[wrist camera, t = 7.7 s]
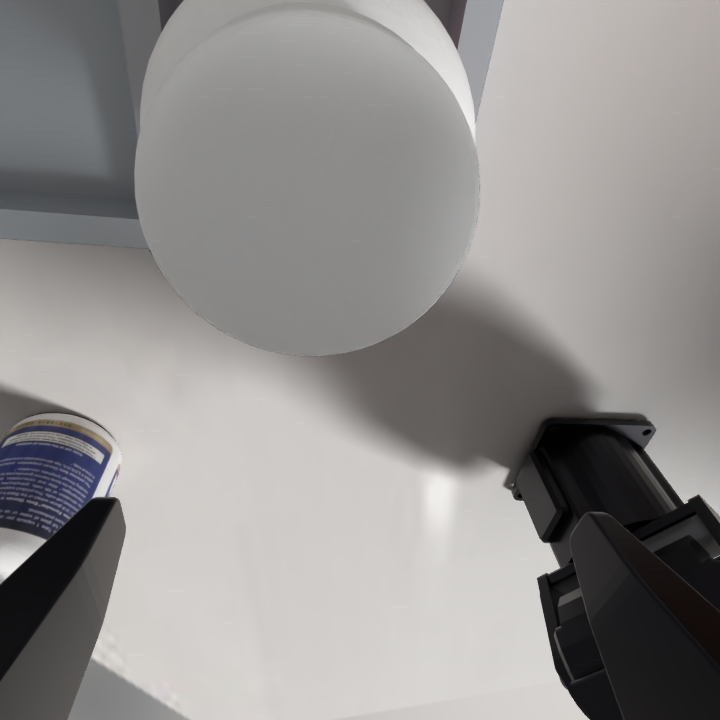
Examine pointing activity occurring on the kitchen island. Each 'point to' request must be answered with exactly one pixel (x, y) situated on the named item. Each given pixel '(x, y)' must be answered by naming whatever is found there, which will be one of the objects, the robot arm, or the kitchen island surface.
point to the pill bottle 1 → (49, 479)
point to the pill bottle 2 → (307, 167)
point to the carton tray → (113, 109)
